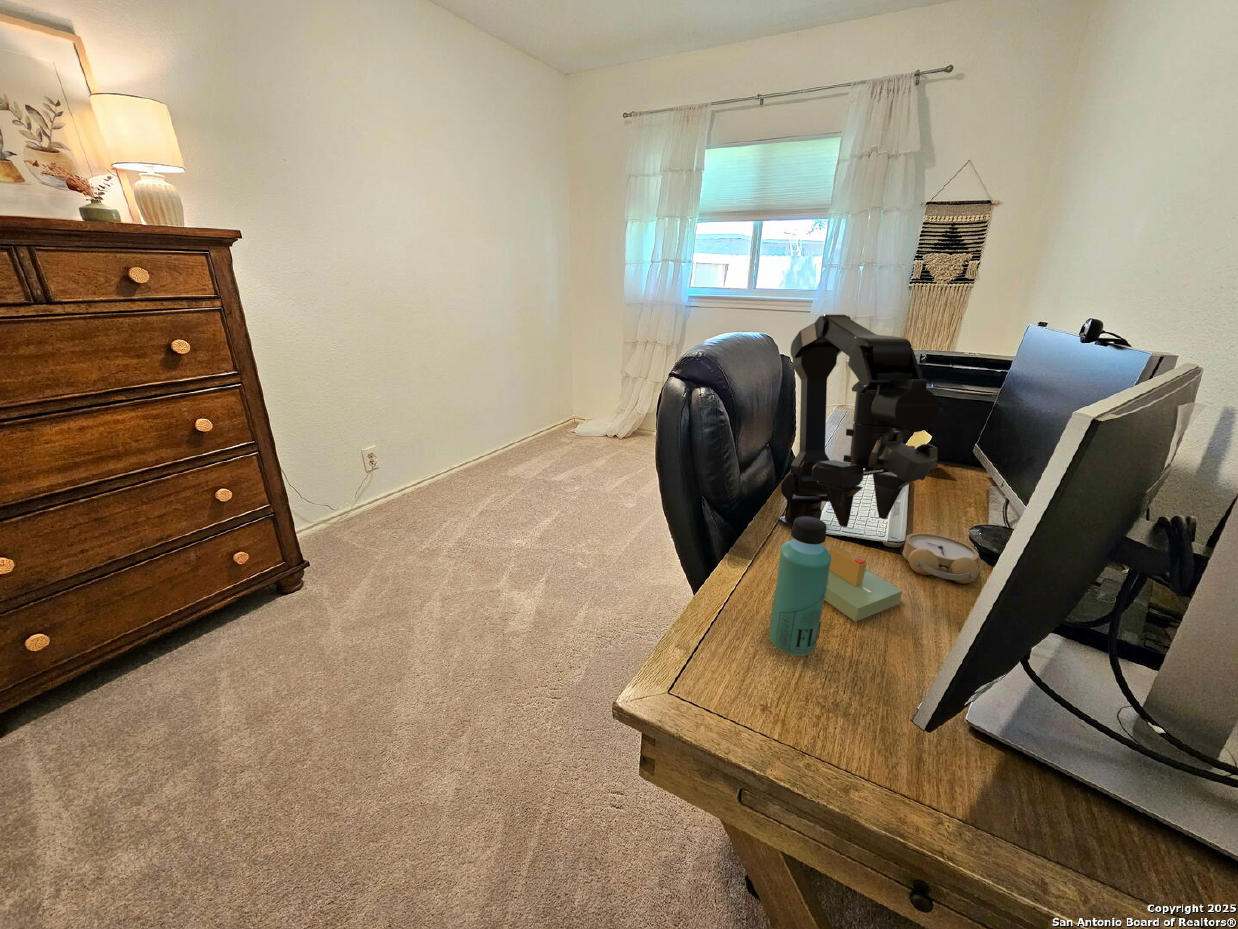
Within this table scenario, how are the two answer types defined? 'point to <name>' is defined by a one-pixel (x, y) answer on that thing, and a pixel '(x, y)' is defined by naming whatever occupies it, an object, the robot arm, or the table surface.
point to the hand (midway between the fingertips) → (863, 522)
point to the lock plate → (861, 595)
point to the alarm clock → (941, 557)
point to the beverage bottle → (800, 588)
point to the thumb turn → (847, 565)
